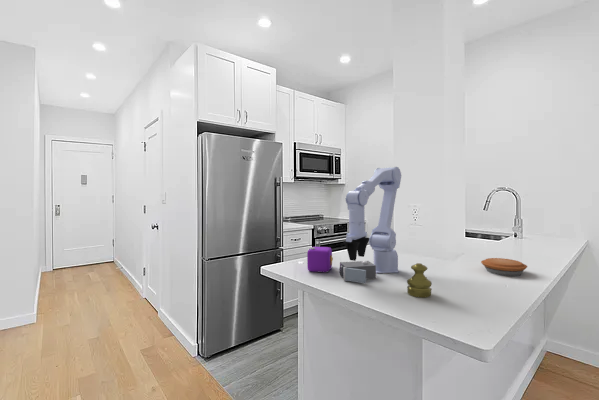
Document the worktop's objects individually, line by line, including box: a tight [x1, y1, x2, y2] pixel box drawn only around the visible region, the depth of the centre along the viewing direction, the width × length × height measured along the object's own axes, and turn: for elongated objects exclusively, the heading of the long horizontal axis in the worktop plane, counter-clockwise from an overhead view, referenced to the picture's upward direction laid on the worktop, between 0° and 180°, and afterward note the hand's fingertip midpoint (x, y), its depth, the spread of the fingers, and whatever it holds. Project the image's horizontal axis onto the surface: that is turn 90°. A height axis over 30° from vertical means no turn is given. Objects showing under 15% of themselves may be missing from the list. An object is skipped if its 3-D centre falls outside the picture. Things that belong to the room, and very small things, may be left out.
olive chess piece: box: [406, 262, 433, 299], centre depth 97 cm, size 7×7×10 cm
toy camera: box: [306, 246, 334, 273], centre depth 130 cm, size 11×14×10 cm
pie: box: [480, 257, 528, 277], centre depth 122 cm, size 16×16×5 cm
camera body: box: [338, 260, 377, 280], centre depth 118 cm, size 13×8×6 cm, turn 98°
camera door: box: [343, 267, 367, 284], centre depth 111 cm, size 9×1×5 cm, turn 58°
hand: (357, 258), depth 113 cm, fingers open, 7 cm apart
